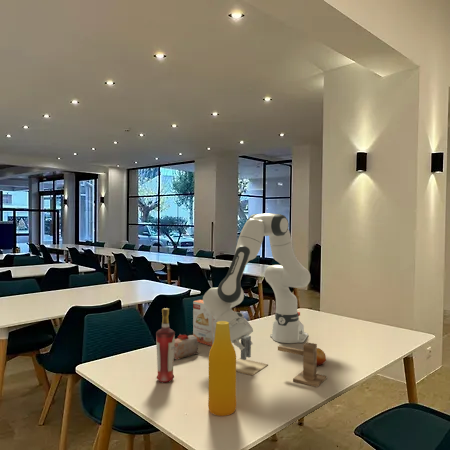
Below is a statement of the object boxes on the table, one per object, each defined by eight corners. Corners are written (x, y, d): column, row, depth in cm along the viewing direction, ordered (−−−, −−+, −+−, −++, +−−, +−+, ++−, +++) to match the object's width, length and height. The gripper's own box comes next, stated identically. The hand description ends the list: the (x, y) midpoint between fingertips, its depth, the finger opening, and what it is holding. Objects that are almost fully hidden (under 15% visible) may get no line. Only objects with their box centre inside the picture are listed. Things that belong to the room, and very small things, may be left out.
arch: (246, 355, 175) (246, 335, 174) (250, 356, 173) (250, 336, 173) (240, 359, 170) (240, 338, 170) (244, 360, 169) (245, 338, 169)
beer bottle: (203, 413, 130) (204, 324, 130) (214, 401, 139) (214, 318, 139) (230, 418, 127) (230, 327, 127) (239, 406, 136) (240, 320, 135)
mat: (240, 358, 182) (240, 358, 182) (267, 365, 174) (267, 364, 174) (223, 368, 170) (223, 367, 170) (252, 375, 162) (252, 374, 162)
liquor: (157, 376, 161) (158, 306, 161) (176, 376, 161) (176, 307, 161) (154, 383, 154) (154, 311, 153) (173, 384, 154) (173, 311, 153)
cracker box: (192, 341, 208) (192, 300, 208) (200, 338, 213) (201, 299, 212) (211, 347, 199) (211, 304, 198) (220, 344, 203) (220, 303, 203)
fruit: (310, 355, 183) (318, 342, 180) (323, 368, 178) (331, 355, 175) (299, 359, 177) (307, 346, 174) (312, 373, 172) (321, 359, 169)
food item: (176, 361, 179) (176, 339, 178) (165, 357, 184) (165, 335, 184) (199, 354, 188) (199, 333, 188) (189, 350, 194) (189, 330, 194)
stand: (283, 368, 170) (283, 335, 170) (326, 378, 160) (326, 343, 160) (273, 376, 162) (273, 341, 162) (317, 387, 152) (317, 350, 151)
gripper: (219, 321, 167) (239, 349, 162) (244, 312, 184) (262, 337, 179) (210, 330, 169) (229, 358, 164) (235, 320, 186) (253, 345, 181)
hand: (247, 347), depth 172 cm, fingers closed on arch, 5 cm apart
